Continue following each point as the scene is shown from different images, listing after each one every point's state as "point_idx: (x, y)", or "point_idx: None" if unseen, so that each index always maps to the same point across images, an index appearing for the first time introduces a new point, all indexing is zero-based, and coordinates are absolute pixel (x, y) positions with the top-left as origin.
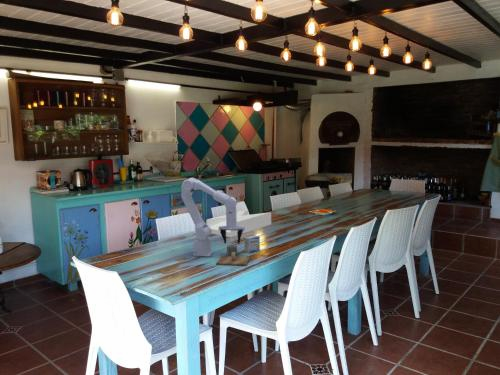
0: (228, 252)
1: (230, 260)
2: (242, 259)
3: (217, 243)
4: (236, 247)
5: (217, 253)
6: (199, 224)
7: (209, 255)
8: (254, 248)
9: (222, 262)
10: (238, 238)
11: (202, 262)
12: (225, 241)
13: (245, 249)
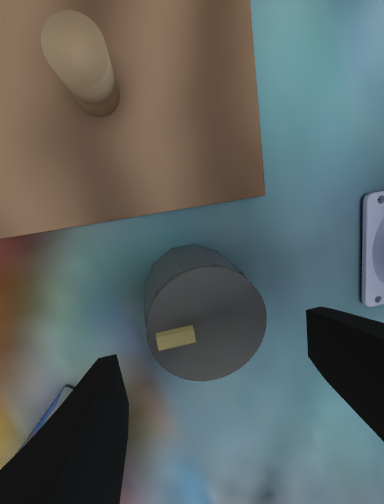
0: (219, 257)
1: (124, 67)
2: (5, 137)
3: (375, 485)
4: (147, 327)
5: (321, 294)
6: None
7: (369, 199)
8: None
9: None
10: (66, 426)
11: (381, 15)
12: (325, 325)
13: None
